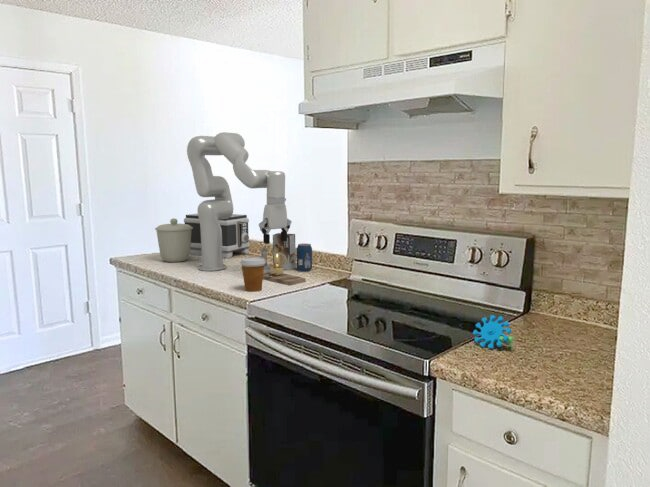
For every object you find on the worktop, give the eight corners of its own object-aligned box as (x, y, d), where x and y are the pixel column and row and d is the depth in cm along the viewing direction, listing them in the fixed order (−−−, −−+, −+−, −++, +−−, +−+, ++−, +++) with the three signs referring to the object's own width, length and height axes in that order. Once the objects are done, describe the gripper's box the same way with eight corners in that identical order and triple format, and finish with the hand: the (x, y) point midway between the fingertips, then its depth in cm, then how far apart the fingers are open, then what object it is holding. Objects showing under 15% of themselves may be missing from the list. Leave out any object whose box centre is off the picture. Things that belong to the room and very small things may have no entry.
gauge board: (251, 276, 219) (250, 248, 218) (266, 273, 226) (266, 246, 224) (289, 285, 203) (289, 255, 202) (305, 281, 210) (305, 252, 208)
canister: (148, 262, 250) (146, 219, 247) (172, 256, 267) (171, 216, 264) (178, 265, 243) (176, 221, 240) (201, 258, 260) (200, 217, 257)
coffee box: (296, 267, 238) (296, 233, 235) (290, 270, 232) (290, 235, 229) (278, 266, 241) (278, 232, 239) (272, 269, 235) (272, 234, 233)
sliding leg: (266, 275, 213) (265, 254, 212) (277, 272, 218) (277, 252, 217) (271, 276, 211) (271, 255, 210) (283, 273, 216) (283, 253, 214)
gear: (465, 336, 139) (485, 308, 141) (472, 347, 142) (492, 319, 144) (499, 354, 130) (520, 323, 132) (506, 365, 134) (527, 335, 136)
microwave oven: (234, 260, 257) (233, 218, 254) (184, 254, 274) (182, 214, 271) (256, 254, 273) (255, 215, 270) (207, 249, 290) (206, 212, 286)
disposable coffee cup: (251, 294, 190) (251, 262, 188) (235, 289, 196) (235, 259, 194) (271, 289, 197) (270, 258, 195) (255, 285, 203) (254, 255, 201)
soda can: (302, 268, 237) (302, 242, 235) (314, 270, 233) (315, 244, 231) (293, 271, 231) (293, 244, 229) (306, 272, 227) (306, 246, 225)
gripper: (284, 199, 220) (284, 239, 223) (253, 201, 207) (253, 243, 210) (297, 201, 215) (296, 241, 218) (265, 203, 202) (265, 245, 205)
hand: (275, 242), depth 214 cm, fingers open, 9 cm apart
